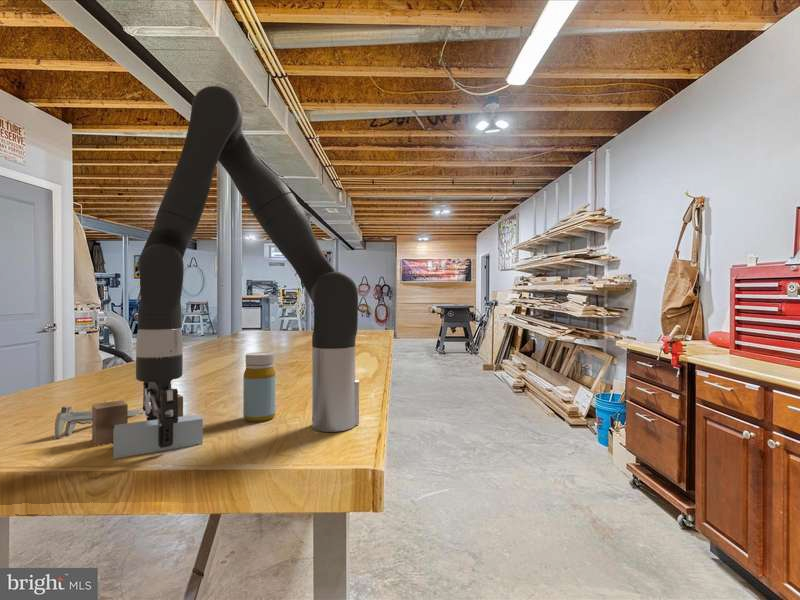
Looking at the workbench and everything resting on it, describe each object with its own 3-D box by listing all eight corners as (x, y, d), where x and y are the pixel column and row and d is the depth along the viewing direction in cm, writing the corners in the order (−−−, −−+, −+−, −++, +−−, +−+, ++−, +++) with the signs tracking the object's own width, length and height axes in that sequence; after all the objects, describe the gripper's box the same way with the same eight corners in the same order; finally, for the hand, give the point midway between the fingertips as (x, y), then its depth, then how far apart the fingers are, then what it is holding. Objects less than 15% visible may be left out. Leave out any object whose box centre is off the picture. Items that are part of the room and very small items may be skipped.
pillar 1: (122, 434, 85) (122, 400, 85) (127, 440, 82) (127, 404, 82) (92, 440, 82) (92, 404, 82) (96, 446, 78) (96, 409, 78)
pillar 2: (176, 424, 92) (176, 392, 92) (183, 429, 88) (183, 396, 89) (150, 429, 89) (150, 396, 89) (156, 434, 85) (156, 400, 85)
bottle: (262, 423, 92) (262, 356, 93) (236, 421, 95) (236, 354, 95) (281, 415, 99) (281, 352, 99) (256, 413, 101) (256, 351, 101)
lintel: (200, 439, 83) (200, 414, 83) (202, 445, 79) (202, 418, 79) (114, 452, 76) (114, 424, 76) (113, 459, 72) (113, 430, 72)
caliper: (58, 440, 82) (58, 408, 82) (54, 440, 83) (54, 408, 83) (144, 413, 102) (144, 388, 102) (141, 413, 102) (141, 387, 102)
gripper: (193, 354, 75) (193, 445, 75) (171, 348, 85) (170, 428, 85) (145, 358, 70) (145, 456, 70) (128, 351, 80) (127, 436, 80)
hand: (159, 440), depth 77 cm, fingers open, 8 cm apart
